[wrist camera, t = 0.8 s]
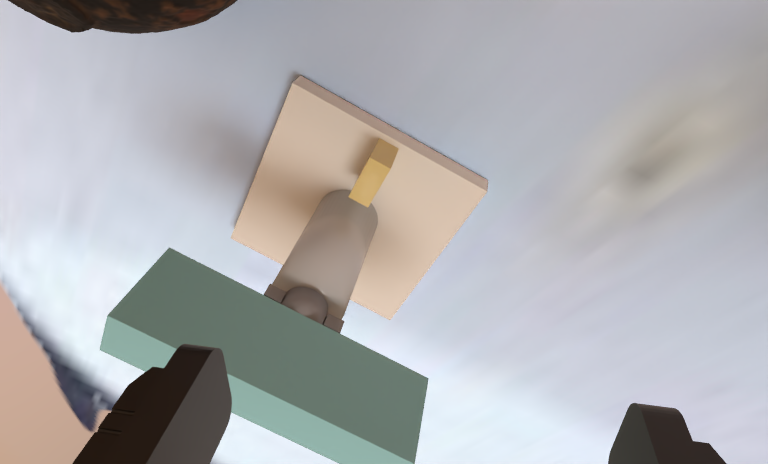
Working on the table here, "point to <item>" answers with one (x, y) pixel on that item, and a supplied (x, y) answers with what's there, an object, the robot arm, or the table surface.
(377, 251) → the post base
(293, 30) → the table surface
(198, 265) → the pale green block
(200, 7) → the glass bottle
